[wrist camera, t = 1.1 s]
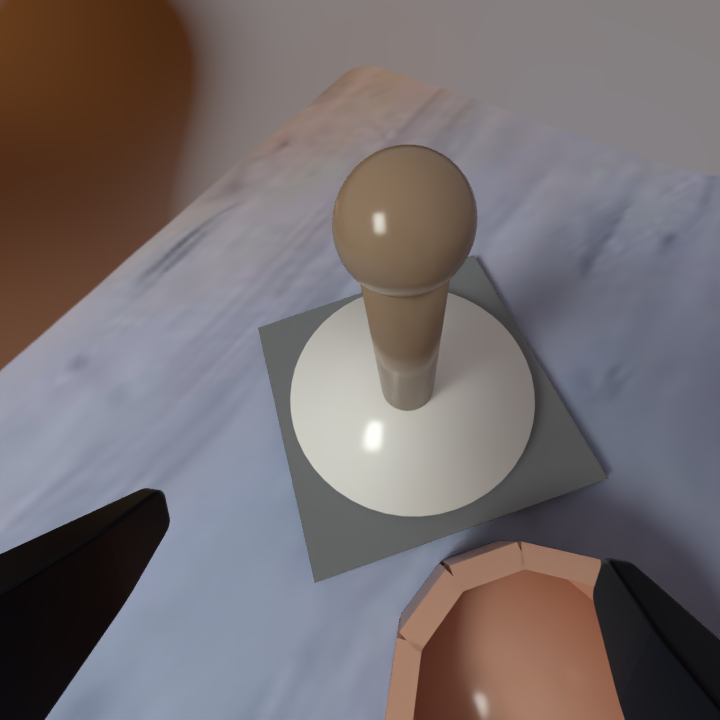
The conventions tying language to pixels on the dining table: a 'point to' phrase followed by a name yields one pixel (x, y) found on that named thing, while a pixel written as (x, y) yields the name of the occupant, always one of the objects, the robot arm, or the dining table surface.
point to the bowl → (504, 640)
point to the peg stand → (410, 350)
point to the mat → (397, 534)
